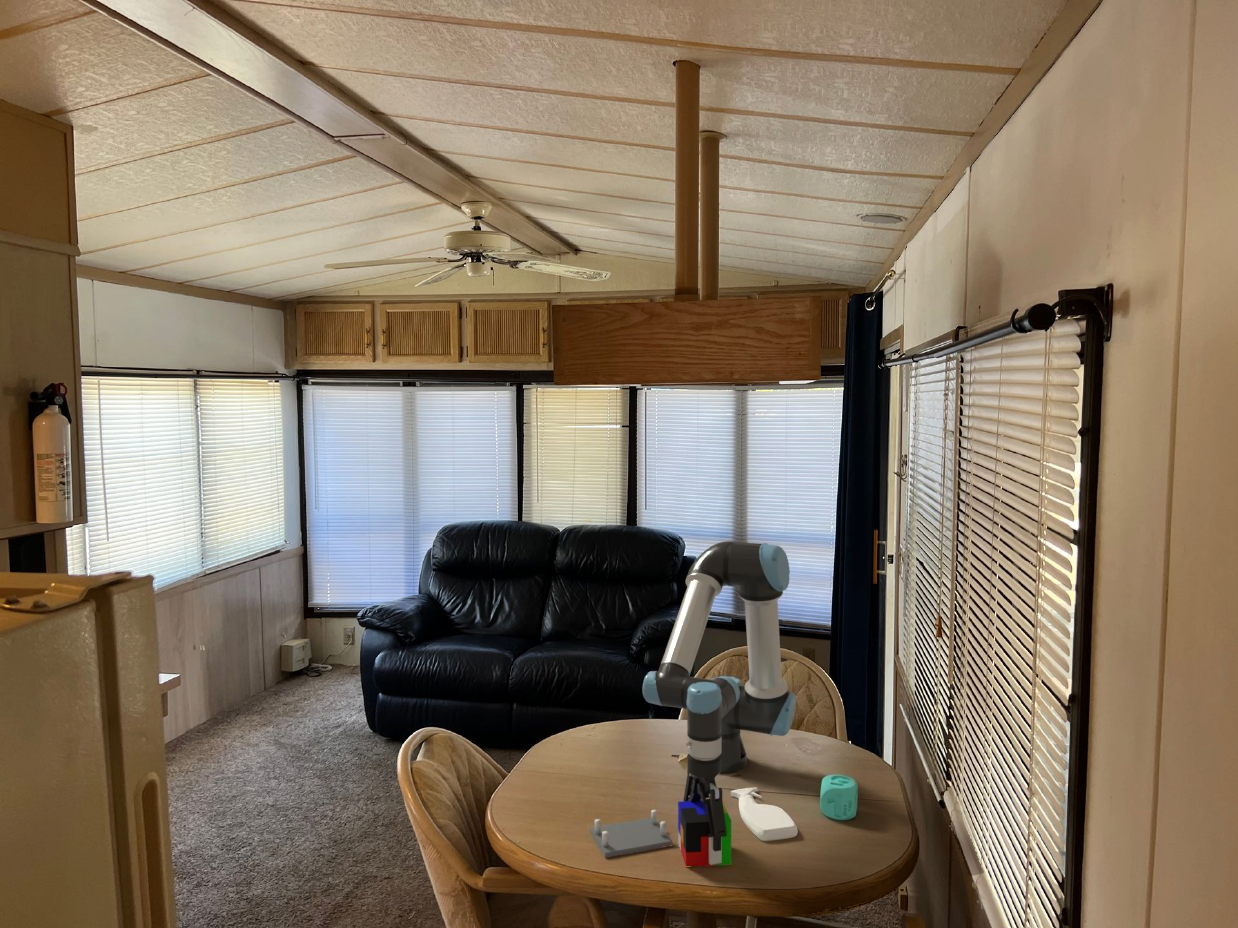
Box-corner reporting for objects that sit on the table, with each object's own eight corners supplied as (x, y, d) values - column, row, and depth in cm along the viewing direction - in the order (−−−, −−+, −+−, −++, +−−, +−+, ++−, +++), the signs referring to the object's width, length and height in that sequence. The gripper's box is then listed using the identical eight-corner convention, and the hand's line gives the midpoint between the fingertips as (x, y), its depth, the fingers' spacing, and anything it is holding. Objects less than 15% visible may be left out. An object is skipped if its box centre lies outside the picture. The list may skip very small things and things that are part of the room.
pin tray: (653, 821, 208) (653, 804, 208) (672, 845, 197) (672, 827, 196) (589, 832, 203) (589, 814, 203) (605, 857, 192) (604, 839, 191)
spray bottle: (758, 844, 198) (721, 797, 222) (802, 838, 200) (761, 793, 224) (758, 831, 198) (721, 786, 222) (802, 825, 200) (761, 782, 224)
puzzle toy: (678, 843, 197) (678, 801, 197) (721, 841, 198) (721, 799, 198) (686, 867, 188) (685, 822, 187) (731, 864, 189) (731, 820, 188)
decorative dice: (819, 817, 210) (820, 785, 209) (824, 802, 217) (825, 771, 216) (853, 822, 207) (854, 790, 206) (857, 808, 214) (857, 776, 213)
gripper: (669, 737, 201) (669, 828, 203) (710, 778, 179) (710, 880, 181) (698, 732, 204) (698, 823, 205) (743, 772, 181) (743, 873, 183)
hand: (704, 849), depth 193 cm, fingers closed on puzzle toy, 11 cm apart
